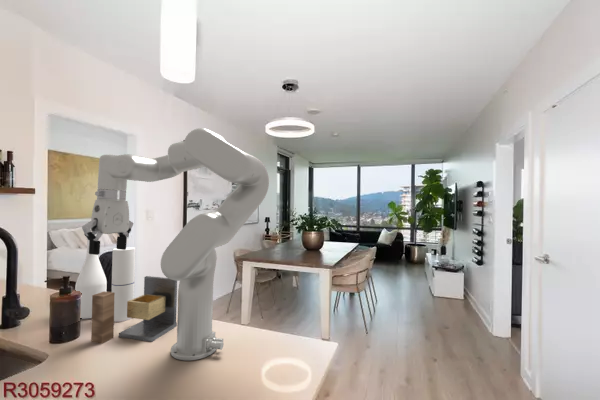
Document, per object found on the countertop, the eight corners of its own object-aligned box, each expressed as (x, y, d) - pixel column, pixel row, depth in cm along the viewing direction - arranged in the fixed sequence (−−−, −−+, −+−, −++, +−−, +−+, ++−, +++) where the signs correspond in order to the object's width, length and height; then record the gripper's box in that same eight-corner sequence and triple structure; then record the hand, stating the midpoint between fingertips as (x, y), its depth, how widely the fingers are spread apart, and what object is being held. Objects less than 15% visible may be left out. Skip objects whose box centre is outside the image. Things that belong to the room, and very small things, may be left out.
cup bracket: (176, 326, 103) (177, 278, 103) (152, 341, 91) (153, 288, 91) (146, 322, 106) (147, 275, 106) (118, 336, 94) (120, 284, 94)
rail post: (113, 337, 93) (114, 292, 93) (102, 343, 89) (103, 296, 89) (102, 336, 94) (103, 291, 94) (91, 342, 90) (92, 295, 90)
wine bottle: (112, 312, 114) (114, 233, 114) (87, 321, 105) (89, 235, 105) (93, 309, 117) (95, 231, 117) (68, 317, 108) (70, 234, 108)
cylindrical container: (115, 323, 104) (117, 250, 104) (107, 318, 108) (109, 248, 108) (137, 317, 110) (139, 248, 110) (128, 312, 114) (130, 246, 114)
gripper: (96, 195, 83) (92, 257, 83) (143, 197, 100) (139, 248, 100) (74, 194, 85) (71, 255, 85) (124, 195, 101) (121, 246, 101)
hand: (108, 251), depth 92 cm, fingers open, 9 cm apart
